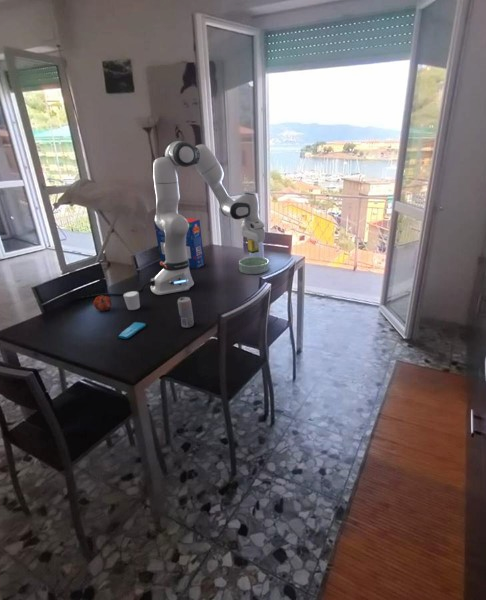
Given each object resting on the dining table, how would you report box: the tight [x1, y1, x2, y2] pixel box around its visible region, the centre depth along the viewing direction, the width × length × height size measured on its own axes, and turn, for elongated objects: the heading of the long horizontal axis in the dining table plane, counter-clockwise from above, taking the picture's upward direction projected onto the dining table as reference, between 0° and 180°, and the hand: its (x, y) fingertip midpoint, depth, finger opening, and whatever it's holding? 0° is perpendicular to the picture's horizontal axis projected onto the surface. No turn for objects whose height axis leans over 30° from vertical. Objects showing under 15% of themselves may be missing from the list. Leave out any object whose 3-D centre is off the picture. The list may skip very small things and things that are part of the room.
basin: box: [238, 256, 270, 275], centre depth 209 cm, size 18×18×5 cm
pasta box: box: [153, 217, 205, 270], centre depth 217 cm, size 28×8×28 cm, turn 64°
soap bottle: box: [249, 242, 265, 258], centre depth 223 cm, size 9×9×25 cm
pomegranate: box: [93, 295, 112, 312], centre depth 164 cm, size 7×7×10 cm
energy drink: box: [177, 296, 195, 329], centre depth 147 cm, size 5×5×12 cm
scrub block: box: [247, 239, 259, 254], centre depth 204 cm, size 4×4×7 cm
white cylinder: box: [122, 290, 141, 311], centre depth 165 cm, size 7×7×7 cm
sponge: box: [118, 321, 146, 340], centre depth 146 cm, size 2×12×6 cm
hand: (253, 246), depth 204 cm, fingers closed on scrub block, 4 cm apart
